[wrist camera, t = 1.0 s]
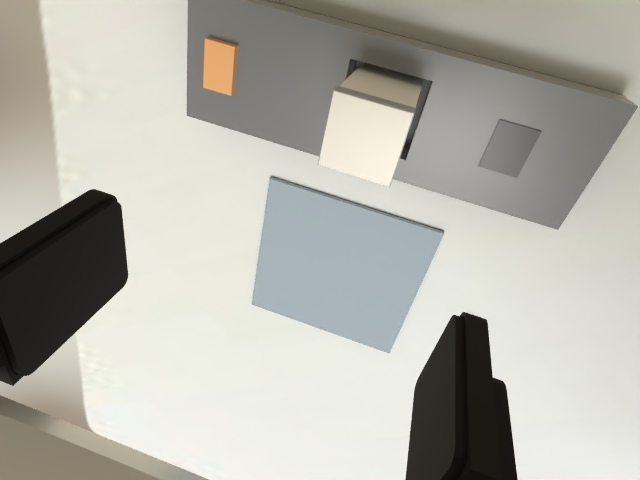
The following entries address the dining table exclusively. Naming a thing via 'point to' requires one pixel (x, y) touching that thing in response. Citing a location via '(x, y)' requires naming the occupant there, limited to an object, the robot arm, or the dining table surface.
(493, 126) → the power strip
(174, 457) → the dining table surface
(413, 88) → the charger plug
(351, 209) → the slate mat
